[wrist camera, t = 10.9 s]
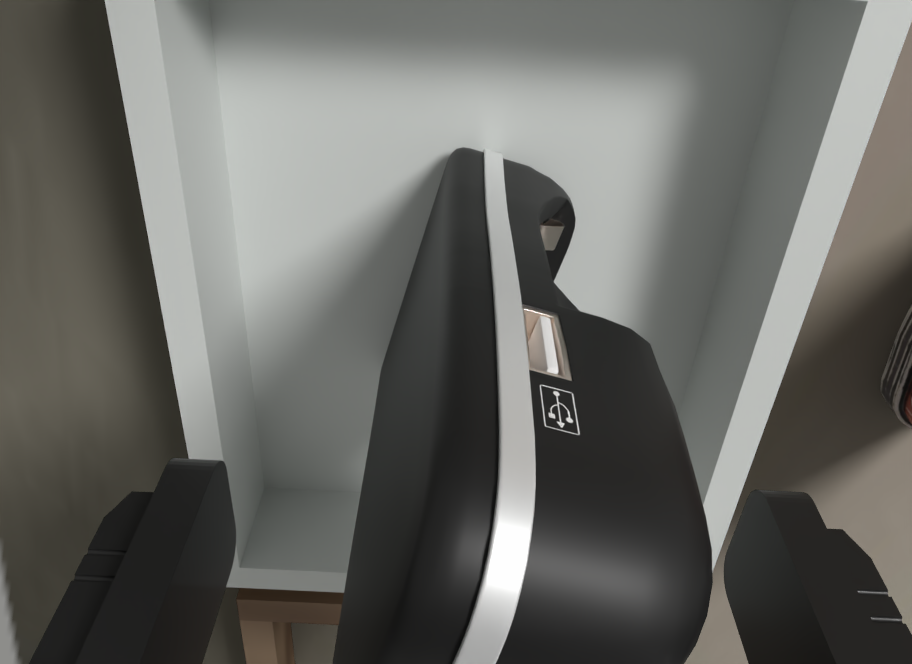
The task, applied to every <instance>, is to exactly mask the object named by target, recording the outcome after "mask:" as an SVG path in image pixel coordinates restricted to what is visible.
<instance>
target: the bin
mask: <svg viewBox="0 0 912 664" xmlns="http://www.w3.org/2000/svg"><path fill="white" fill-rule="evenodd" d="M105 5H106V10H107V16H108V21H109V27H110V32H111V37H112V43H113V48H114V54H115V59H116V65H117V70H118V76H119V81H120V86H121V92H122V97H123V103H124V108H125V114H126V119H127V125H128V130H129V136H130V141H131V146H132V152H133V157H134V163H135V168H136V174H137V179H138V185H139V190H140V195H141V201H142V206H143V212H144V217H145V223H146V228H147V234H148V239H149V244H150V250H151V255H152V261H153V266H154V272H155V277H156V283H157V288H158V294H159V299H160V304H161V310H162V315H163V321H164V326H165V332H166V337H167V343H168V348H169V353H170V359H171V364H172V370H173V375H174V381H175V386H176V392H177V397H178V402H179V408H180V413H181V419H182V424H183V430H184V435H185V441H186V446H187V451H188V457H189V459H202V460H221V461H224V463H225V465H226V468H227V474H228V480H229V486H230V493H231V499H232V506H233V512H234V518H235V525H236V548H235V556H234V561H233V566H232V569H231V573H230V576H229V579H228V582H227V586H226V587H234V588H256V589H277V590H298V591H319V592H341V593H344V589H345V583H346V577H347V571H348V565H349V559H350V553H351V547H352V541H353V535H354V529H355V523H356V518H357V512H358V506H359V500H360V494H361V488H362V482H363V476H364V470H365V465H366V459H367V453H368V447H369V441H370V435H371V429H372V423H373V416H374V410H375V404H376V398H377V391H378V385H379V379H380V372H381V368H382V364H383V361H384V358H385V355H386V352H387V349H388V345H389V342H390V339H391V336H392V333H393V329H394V326H395V323H396V320H397V317H398V314H399V310H400V307H401V304H402V301H403V298H404V295H405V291H406V288H407V285H408V282H409V279H410V276H411V272H412V269H413V266H414V263H415V260H416V257H417V254H418V251H419V247H420V244H421V241H422V238H423V235H424V232H425V229H426V225H427V222H428V219H429V216H430V213H431V210H432V207H433V204H434V200H435V197H436V194H437V191H438V188H439V185H440V182H441V179H442V176H443V172H444V169H445V166H446V163H447V161H448V159H449V157H450V155H451V153H452V152H453V151H455V150H456V149H458V148H462V147H465V148H471V149H474V150H478V151H481V152H482V151H483V150H484V148H486V149H489V150H492V151H495V152H499V153H502V155H503V158H504V159H507V160H510V161H514V162H517V163H520V164H523V165H527V166H530V167H531V168H533V169H535V170H536V171H538V172H540V173H542V174H544V175H546V176H548V177H550V178H551V179H552V180H553V181H554V182H556V183H557V184H558V185H559V186H560V187H561V188H563V190H564V191H565V192H566V193H567V195H568V196H569V198H570V200H571V202H572V204H573V208H574V213H575V218H576V221H575V229H574V232H573V236H572V239H571V242H570V245H569V248H568V250H567V253H566V255H565V257H564V259H563V262H562V264H561V266H560V269H559V271H558V273H557V275H556V278H555V280H554V283H555V284H556V285H557V287H558V288H559V289H560V290H561V291H562V292H563V293H564V295H565V296H566V297H567V298H568V299H569V300H570V301H571V302H572V303H573V304H574V305H575V306H576V308H577V309H578V310H579V311H581V312H584V313H588V314H592V315H595V316H599V317H602V318H605V319H607V320H610V321H613V322H615V323H618V324H620V325H623V326H625V327H628V328H631V329H632V330H633V331H635V332H636V333H637V334H638V335H640V336H641V337H642V338H644V339H645V340H646V341H647V342H649V343H650V345H651V347H652V350H653V353H654V356H655V358H656V361H657V364H658V367H659V370H660V372H661V374H662V377H663V379H664V381H665V384H666V386H667V388H668V391H669V393H670V395H671V398H672V400H673V402H674V405H675V408H676V411H677V414H678V417H679V421H680V424H681V427H682V431H683V434H684V437H685V441H686V444H687V448H688V451H689V455H690V459H691V462H692V466H693V469H694V473H695V477H696V480H697V484H698V488H699V492H700V496H701V500H702V504H703V508H704V511H705V515H706V520H707V526H708V531H709V537H710V542H711V547H712V572H713V569H714V567H715V564H716V561H717V558H718V555H719V553H720V550H721V547H722V544H723V542H724V539H725V536H726V533H727V531H728V528H729V525H730V522H731V519H732V517H733V514H734V511H735V508H736V506H737V503H738V500H739V497H740V495H741V492H742V489H743V486H744V483H745V481H746V478H747V475H748V472H749V470H750V467H751V464H752V461H753V459H754V456H755V453H756V450H757V448H758V445H759V442H760V439H761V436H762V434H763V431H764V428H765V425H766V423H767V420H768V417H769V414H770V412H771V409H772V406H773V403H774V400H775V398H776V395H777V392H778V389H779V387H780V384H781V381H782V378H783V376H784V373H785V370H786V367H787V364H788V362H789V359H790V356H791V353H792V351H793V348H794V345H795V342H796V340H797V337H798V334H799V331H800V329H801V326H802V323H803V320H804V317H805V315H806V312H807V309H808V306H809V304H810V301H811V298H812V295H813V293H814V290H815V287H816V284H817V281H818V279H819V276H820V273H821V270H822V268H823V265H824V262H825V259H826V257H827V254H828V251H829V248H830V245H831V243H832V240H833V237H834V234H835V232H836V229H837V226H838V223H839V221H840V218H841V215H842V212H843V210H844V207H845V204H846V201H847V198H848V196H849V193H850V190H851V187H852V185H853V182H854V179H855V176H856V174H857V171H858V168H859V165H860V162H861V160H862V157H863V154H864V151H865V149H866V146H867V143H868V140H869V138H870V135H871V132H872V129H873V126H874V124H875V121H876V118H877V115H878V113H879V110H880V107H881V104H882V102H883V99H884V96H885V93H886V91H887V88H888V85H889V82H890V79H891V77H892V74H893V71H894V68H895V66H896V63H897V60H898V57H899V55H900V52H901V49H902V46H903V43H904V41H905V38H906V35H907V32H908V30H909V27H910V24H911V21H912V0H105Z"/></svg>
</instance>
